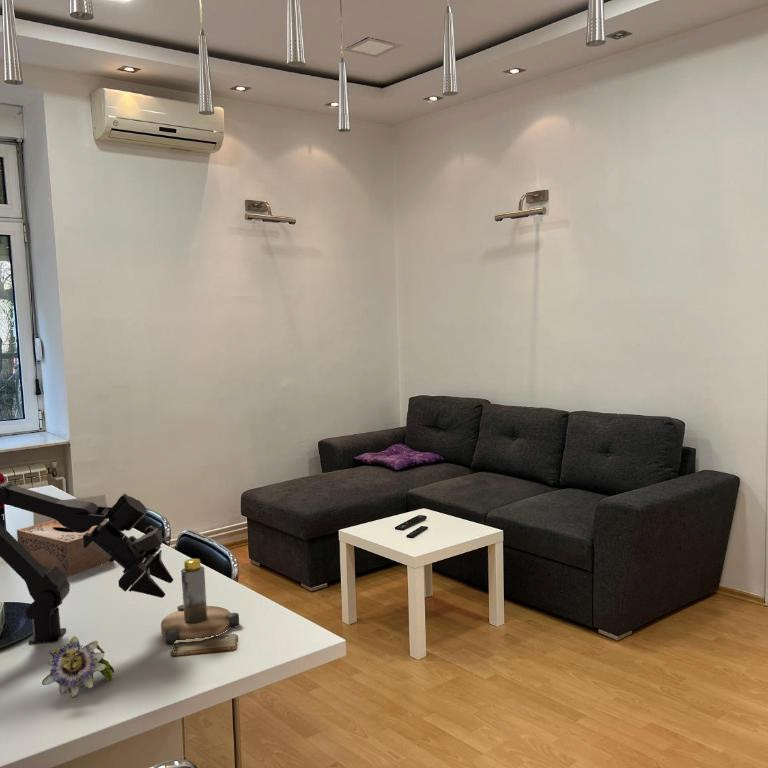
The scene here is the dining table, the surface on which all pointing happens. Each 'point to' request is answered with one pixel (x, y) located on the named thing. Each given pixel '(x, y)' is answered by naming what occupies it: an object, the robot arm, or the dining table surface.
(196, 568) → the gold-capped silver cylinder
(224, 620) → the base plate
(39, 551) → the tissue box cover
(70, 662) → the passion flower
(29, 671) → the dining table surface
